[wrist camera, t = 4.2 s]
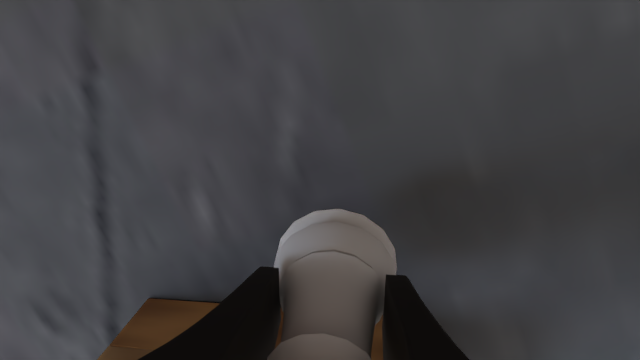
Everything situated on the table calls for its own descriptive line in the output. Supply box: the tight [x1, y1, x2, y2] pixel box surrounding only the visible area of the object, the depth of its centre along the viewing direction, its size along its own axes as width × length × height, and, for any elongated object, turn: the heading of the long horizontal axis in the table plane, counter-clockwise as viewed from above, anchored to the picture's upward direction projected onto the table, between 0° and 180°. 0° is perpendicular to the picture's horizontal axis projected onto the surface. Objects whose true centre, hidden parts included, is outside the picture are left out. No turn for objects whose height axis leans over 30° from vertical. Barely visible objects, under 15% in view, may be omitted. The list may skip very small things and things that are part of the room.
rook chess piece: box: [267, 209, 397, 360], centre depth 10 cm, size 4×4×8 cm
